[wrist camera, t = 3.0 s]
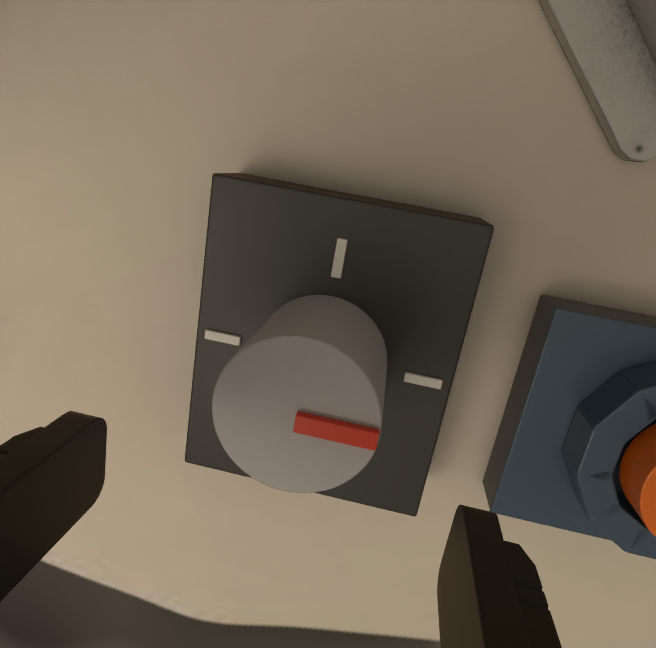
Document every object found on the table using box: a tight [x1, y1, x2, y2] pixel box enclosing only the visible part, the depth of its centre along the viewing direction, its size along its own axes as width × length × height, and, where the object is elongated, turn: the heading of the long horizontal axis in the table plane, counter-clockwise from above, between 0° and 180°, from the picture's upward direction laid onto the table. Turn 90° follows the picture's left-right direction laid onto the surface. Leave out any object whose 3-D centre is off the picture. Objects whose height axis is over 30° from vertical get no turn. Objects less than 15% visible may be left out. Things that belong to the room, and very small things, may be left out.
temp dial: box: [212, 295, 387, 493], centre depth 17 cm, size 5×5×5 cm
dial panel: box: [185, 173, 494, 516], centre depth 21 cm, size 10×12×3 cm
